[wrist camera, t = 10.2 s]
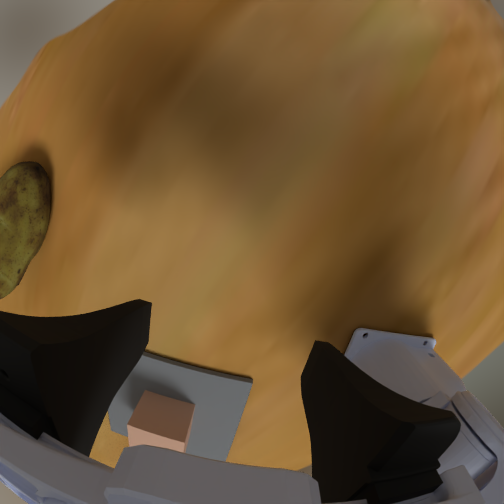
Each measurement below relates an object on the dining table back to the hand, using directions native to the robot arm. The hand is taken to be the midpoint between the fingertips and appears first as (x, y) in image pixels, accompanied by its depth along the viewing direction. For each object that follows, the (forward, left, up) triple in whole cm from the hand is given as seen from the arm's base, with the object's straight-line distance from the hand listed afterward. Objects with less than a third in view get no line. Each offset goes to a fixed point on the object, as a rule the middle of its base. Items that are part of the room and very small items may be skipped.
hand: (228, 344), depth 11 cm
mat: (+4, +16, -9) cm, 19 cm away
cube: (+4, +16, -9) cm, 18 cm away
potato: (+21, +1, -10) cm, 23 cm away
